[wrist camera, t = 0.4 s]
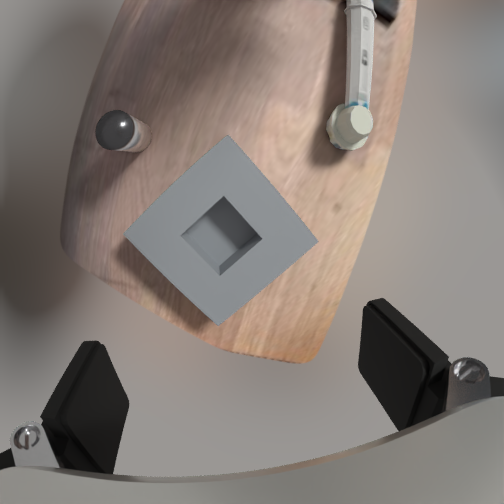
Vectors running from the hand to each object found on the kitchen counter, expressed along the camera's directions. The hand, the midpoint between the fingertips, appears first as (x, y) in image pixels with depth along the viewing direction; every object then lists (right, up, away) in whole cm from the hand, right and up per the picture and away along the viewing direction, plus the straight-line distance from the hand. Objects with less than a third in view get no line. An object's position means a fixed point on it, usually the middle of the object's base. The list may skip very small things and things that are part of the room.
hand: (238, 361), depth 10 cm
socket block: (-3, +7, +28) cm, 29 cm away
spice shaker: (-14, +18, +23) cm, 33 cm away
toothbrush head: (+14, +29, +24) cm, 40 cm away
